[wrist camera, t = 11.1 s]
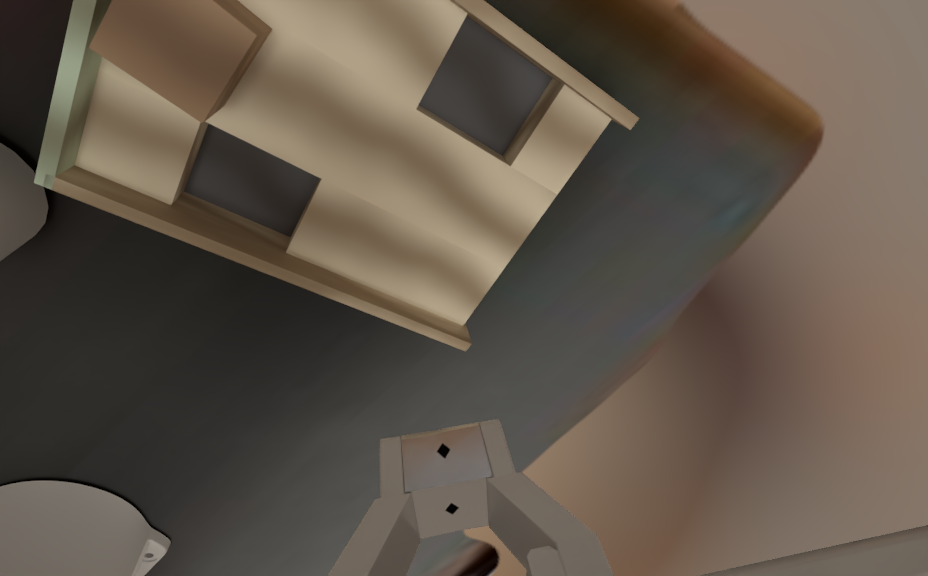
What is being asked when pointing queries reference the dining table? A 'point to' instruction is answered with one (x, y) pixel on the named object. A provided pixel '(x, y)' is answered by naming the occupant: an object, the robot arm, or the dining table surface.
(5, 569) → the robot arm
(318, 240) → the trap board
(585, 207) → the dining table surface
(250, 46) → the block
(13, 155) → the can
